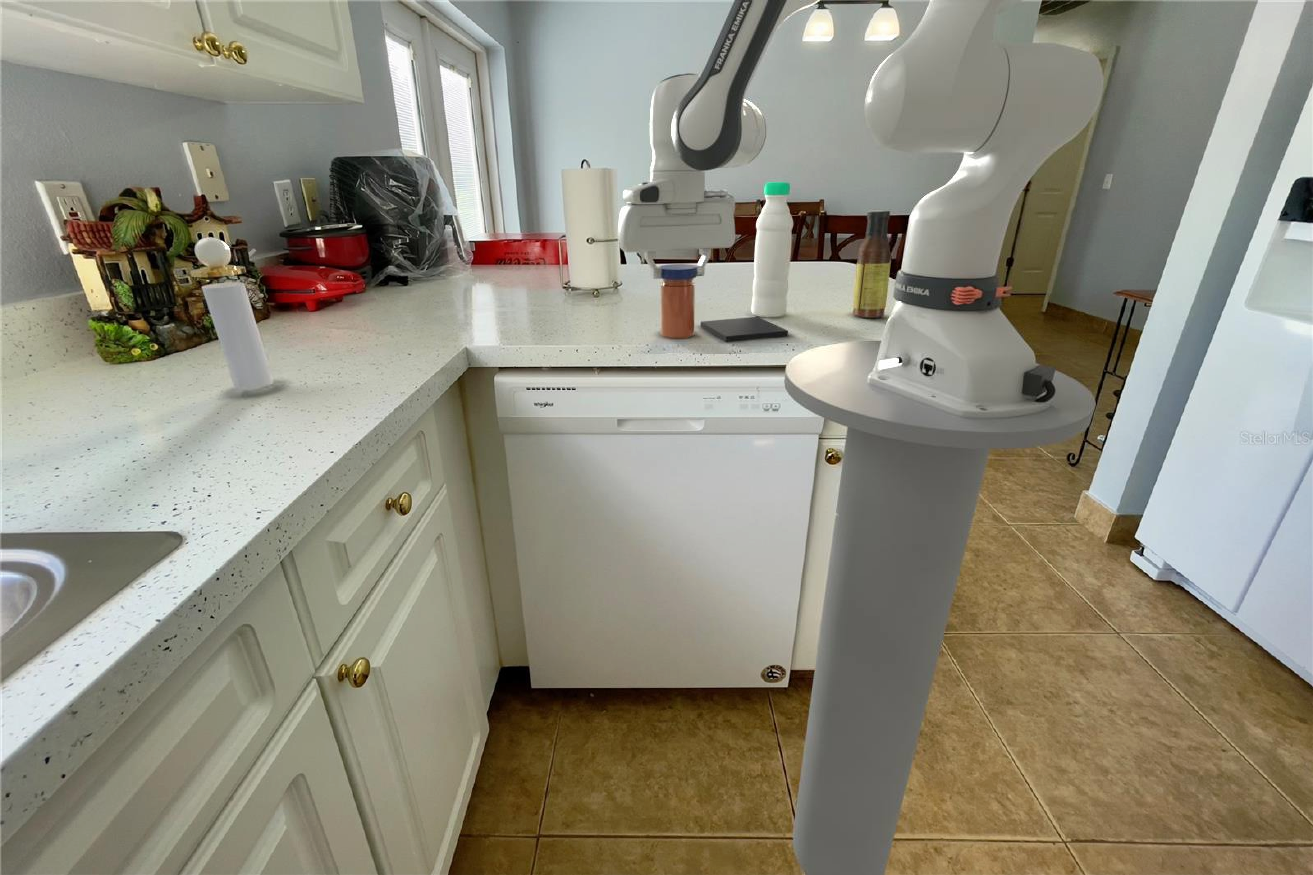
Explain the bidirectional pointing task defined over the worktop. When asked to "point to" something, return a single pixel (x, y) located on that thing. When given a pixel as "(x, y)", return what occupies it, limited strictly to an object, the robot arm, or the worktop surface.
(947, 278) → the robot arm
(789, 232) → the water bottle
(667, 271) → the lid
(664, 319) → the jar
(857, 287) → the sauce bottle
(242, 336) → the perfume bottle
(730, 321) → the coaster
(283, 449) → the worktop surface
